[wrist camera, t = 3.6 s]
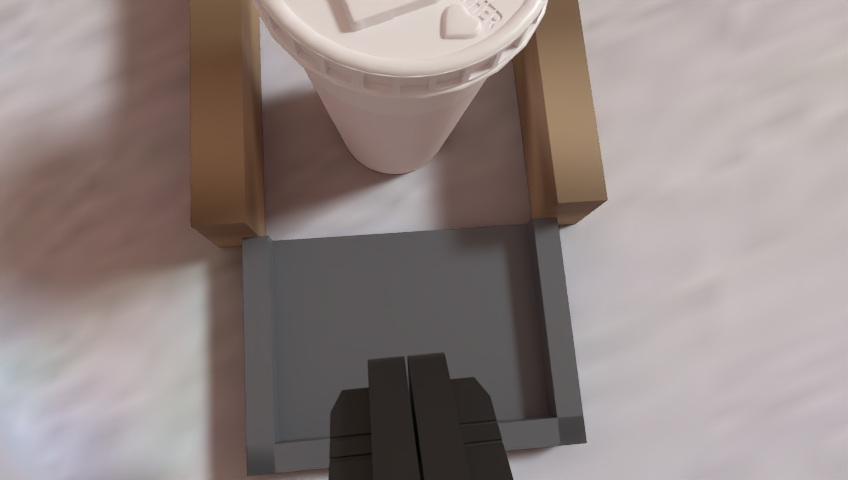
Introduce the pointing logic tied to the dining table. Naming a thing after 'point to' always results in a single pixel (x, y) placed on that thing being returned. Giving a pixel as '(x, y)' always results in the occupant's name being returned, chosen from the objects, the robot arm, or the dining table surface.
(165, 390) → the dining table surface
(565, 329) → the tray
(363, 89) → the smoothie
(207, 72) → the walnut channel
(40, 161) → the dining table surface
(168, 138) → the dining table surface
